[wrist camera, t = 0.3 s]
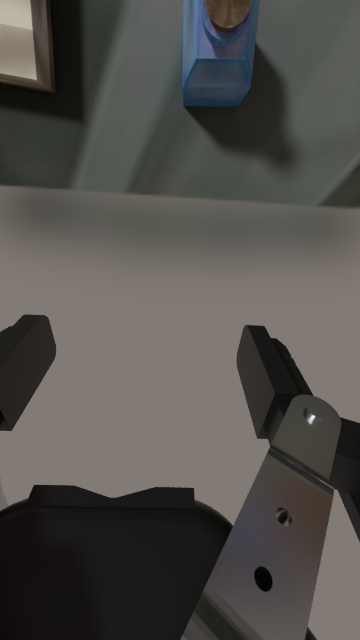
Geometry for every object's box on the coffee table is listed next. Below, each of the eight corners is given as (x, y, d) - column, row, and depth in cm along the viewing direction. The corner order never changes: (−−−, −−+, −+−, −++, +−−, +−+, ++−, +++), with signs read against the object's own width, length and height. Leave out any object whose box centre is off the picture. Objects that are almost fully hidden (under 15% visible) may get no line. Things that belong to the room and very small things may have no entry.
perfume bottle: (245, 28, 26) (287, -85, 15) (238, 106, 28) (268, 58, 18) (184, 28, 26) (182, -84, 15) (183, 106, 29) (181, 58, 18)
